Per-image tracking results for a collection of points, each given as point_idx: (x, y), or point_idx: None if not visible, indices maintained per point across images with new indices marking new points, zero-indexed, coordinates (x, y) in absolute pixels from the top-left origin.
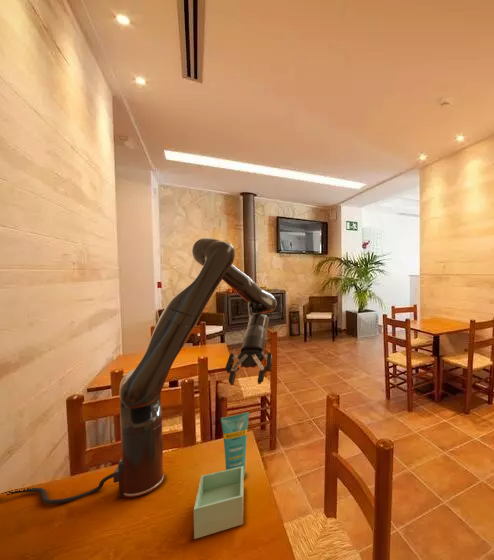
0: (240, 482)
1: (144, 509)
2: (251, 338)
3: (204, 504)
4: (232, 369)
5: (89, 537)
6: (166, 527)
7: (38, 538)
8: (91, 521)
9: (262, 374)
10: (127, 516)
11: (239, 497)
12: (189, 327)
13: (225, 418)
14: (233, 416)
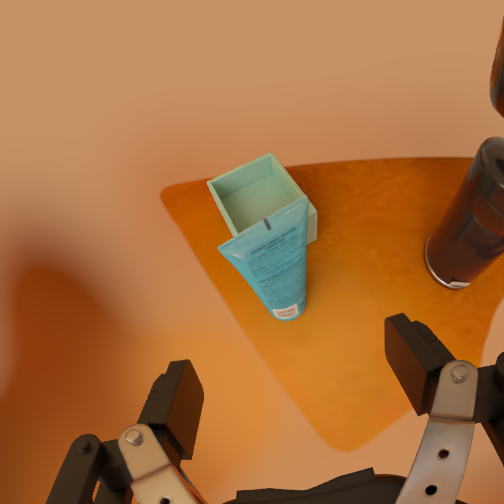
0: (223, 206)
1: (397, 215)
2: None
3: (286, 201)
4: (458, 370)
5: (416, 173)
6: (332, 192)
7: (465, 171)
8: (443, 192)
9: (149, 407)
10: (408, 202)
11: (211, 180)
12: None
13: (294, 207)
14: (268, 217)
